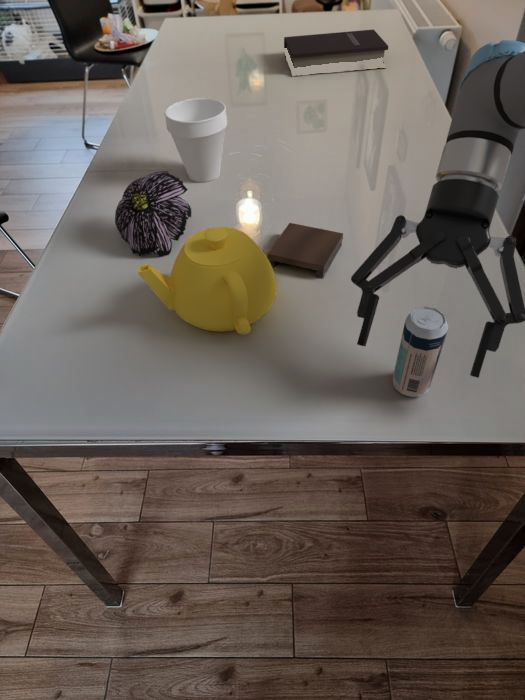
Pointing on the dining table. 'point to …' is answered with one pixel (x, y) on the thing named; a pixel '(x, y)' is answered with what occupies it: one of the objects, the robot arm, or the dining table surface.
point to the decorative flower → (152, 213)
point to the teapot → (217, 281)
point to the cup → (198, 135)
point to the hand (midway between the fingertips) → (415, 360)
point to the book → (334, 47)
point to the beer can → (419, 351)
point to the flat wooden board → (306, 248)
